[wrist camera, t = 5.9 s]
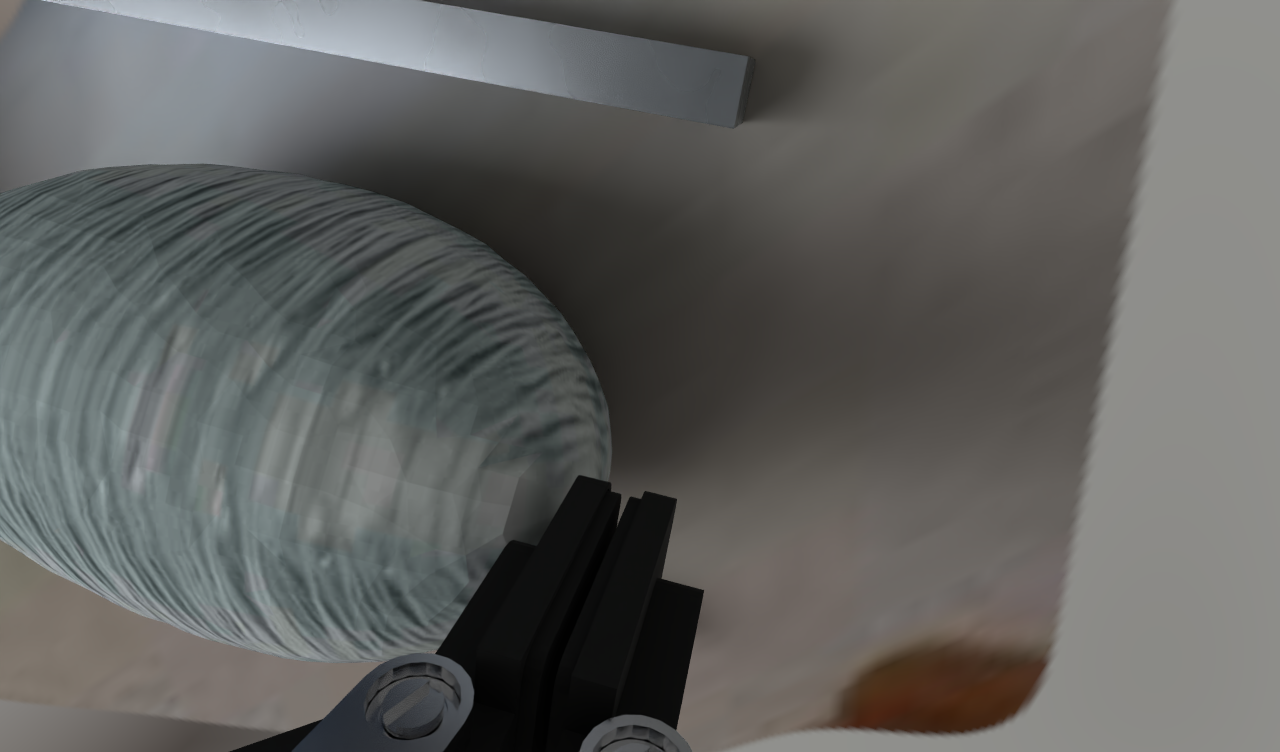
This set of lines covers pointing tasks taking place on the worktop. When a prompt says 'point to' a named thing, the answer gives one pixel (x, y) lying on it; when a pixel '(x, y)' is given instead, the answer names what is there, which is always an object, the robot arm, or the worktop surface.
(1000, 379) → the worktop surface
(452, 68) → the guide rails
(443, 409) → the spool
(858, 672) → the worktop surface
